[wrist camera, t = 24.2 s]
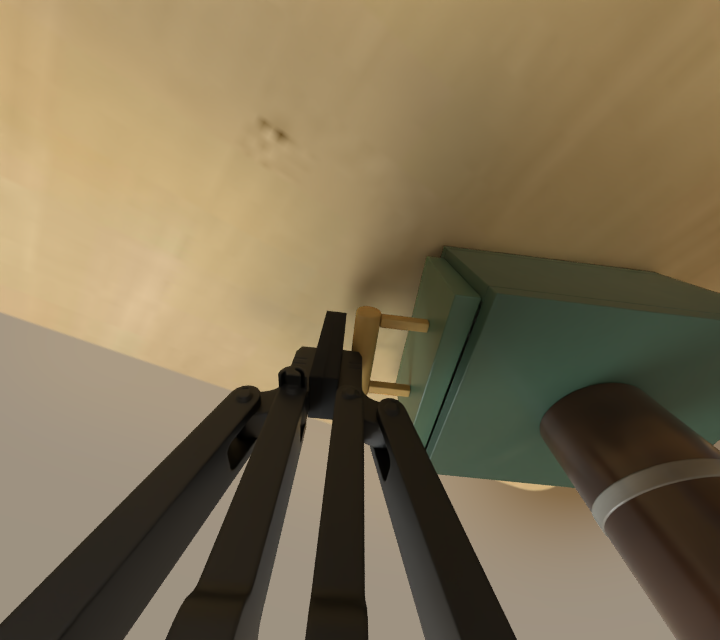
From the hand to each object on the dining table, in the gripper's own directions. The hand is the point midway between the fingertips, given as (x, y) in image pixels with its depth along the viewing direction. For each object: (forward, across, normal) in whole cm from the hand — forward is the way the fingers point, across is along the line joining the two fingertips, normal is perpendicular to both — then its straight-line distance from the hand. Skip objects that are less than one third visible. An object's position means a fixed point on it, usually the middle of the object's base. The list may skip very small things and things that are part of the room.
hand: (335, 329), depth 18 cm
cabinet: (+2, +14, 0) cm, 14 cm away
